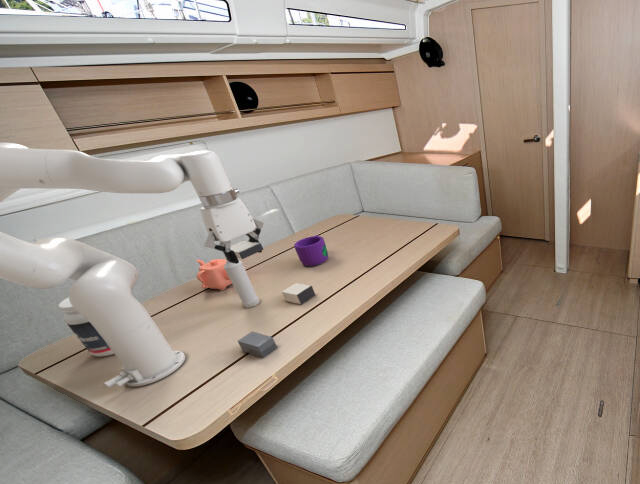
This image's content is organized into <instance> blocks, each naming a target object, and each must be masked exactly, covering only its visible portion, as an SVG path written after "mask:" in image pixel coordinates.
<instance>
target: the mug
mask: <svg viewBox="0 0 640 484" xmlns="http://www.w3.org/2000/svg"><path fill="white" fill-rule="evenodd" d="M293 246H294V250H295V253H296V254H297V255H296V256H297V257H298V259H299V261H300V262H301V264H302V265H303V266H306V267H316V266H319V265H321V264H323V263H325V262H327V260H328V258H329V253H328V252H329V251H328V249H327V246H326V242H325V240H324V237H323V236H320V235H318V234H317V235H316V234H315V235H314V236H313V235H312V236H308V237H305V238H301V239H299V240H298V241H296V242H294V245H293Z"/></svg>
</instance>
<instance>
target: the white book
mask: <svg viewBox="0 0 640 484" xmlns="http://www.w3.org/2000/svg"><path fill="white" fill-rule="evenodd" d="M231 250H233V251H234V253H235V255H236V257H237V258H238V259H241V260H244V259H246V258H248V257H251V256H253V255H255V254H258V252H259V251H261V250H262V251H264V247H263V245H262V243H261V242H259V243H255V242H249V240H242V241H239V242H237V243H234V244H231Z"/></svg>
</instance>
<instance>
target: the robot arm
mask: <svg viewBox="0 0 640 484" xmlns="http://www.w3.org/2000/svg"><path fill="white" fill-rule="evenodd" d="M187 182H190V183H191V184H192V186H193V189H194V191H195V192H196V194H197V197H198V199H199V201H200V202H201V205H202V207H200V209H199V210H200V214H201V218H202V221H203V224H204V227H205V230H206V232H207V234H208V235H207V237H206V239H205V242H204V244H203V245H204V247H206V248H210V249H213V250H216V251H220V252H222V253H223V252H224V253H223V255H224V254H225V255H224V257H225V256H226V258H227V260H228V261H229V262H231V263H235V264H237V263H239V261H240V260H239V258H237V257H236V255H235V253H234V251H233V250H231V246H232V244H231V241H233V240H236V239H238V238H241V237H243V236H246V237H248V238H249V239H248V241H249V242H255V243H260V241H259V239H260V234H261V232H262V229H263V227H264V222H262V221H260V220H258V219H256V218H253V217H252V215H251V213H250V211H249V210H248V207H246V205H245V203H244V202H243V201H242V199H241V198H239V197H238V196H237V195H238V194H240V190H239V188H233V186H232V184H231V181H230V180H229V177H228V175H227V172H226V171H225V169H224V166H223V164H222V162H221V159H220V157H219V155H218V154H217V153H216V152H215V151H212V150H198V151H192V152H188V153H185V154H183V153H182V154H164V155H163V154H162V155H156V156H154V157H152V158H150V159H148V160H128V159H127V160H126V159H124V160H123V159H111V158H110V159H109V158H100V157H96V156H92V155H89V154H87V153H85V152H83V151H80V150H74V149H56V148H55V149H53V148H52V149H49V148H29V147H27V146H26V145H22V144H18V143H13V142H0V203H1V202H3V201H4V200H6V199H7V198H9V197H10V196H12V195H13V194H15V193H16V192H18V191H19V190H21V189H54V190H56V189H58V190H59V189H60V190H61V189H62V190H67V189H69V190H70V189H71V190H86V191H92V192H101V193H112V194H166V193H170V192H173V191H175V190H176V189H178V188H179V187H180V186H181V185H182V184H184V183H187ZM215 242H220V245H219V244H216V243H215ZM258 253H259V254H261V253H263V250H261V251H259V252H257V254H258ZM226 258H225V259H226ZM238 260H239V261H238ZM139 275H140V274H139V270H138V269H137V268H136V266H135V265H133V264H132V263H131V262H129V261H127V260H126V259H124V258H121V257H118V256H116V255H113V254H111V253H109V252H106V251H104V250H102V249H100V248H97V247H94V246H92V245H89V244H87V243H84V242H82V241H79V240H75V239H72V238H67V237H59V236H57V237H55V236H54V237H46V238H41V239H39V240H36V241H34V242H29V241H26V240H23V239H21V238H17V237H15V236H12V235H10V234H8V233H5V232H2V231H0V279H2V280H5V281H9V282H11V283H15V284H17V285H21V286H23V287H27V288H31V289H36V290H37V289H38V290H46V289H52V288H55V287H58V286H59V285H62V284H63V283H64V282H66V281H67V280H68V279H71V280H74V281H75V282H74V283H73V284H72V285H71V287H70V289H69V293H68V297H69V301H70V303H71V305H72V306H73V307H74V309H75V310H77V311H78V312H79V313H80V314H81V315H82V316H84V317H85V318H86V319H87V320H88V321H89V322H90V323H91V324H92V325H93V327H94V328H95V329H96V330H97V332H98V333H99V334H100V335H101V337H102V338H103V339H104V340H105V342H106V343H107V344H108V346H109V347H110V348H111V350H112V351H113V352H114V354H113V355H115V357H116V358H117V360H118V361H119V362H120V363H121V365H122V367H121V368H120V370H121V372H119V373H118V375H115V376H114V377H112V378H110V379H109V380H107V381H105V382H104V383H103V385H104V386H105V387H106V389H108V390H109V389H112V388H113V387H115V386H117V387H118V388H120V387H121V386H123V385H125V384H126V385H127V386H129V387H143V386H147V385H151V384H152V383H155V382H158V381H160V380H163V379H164V378H166V377H168V376H169V375H171V374H172V373H174V372H175V371H177V370H178V369H179V368H180V367H181V366H182V365H183V364H184V362H185V361H186V355H185V353H184V352H183V351H181V350H173V348H172V347H171V345H170V344H169V342H168V340H167V339H166V338H165V336H164V335H163V332H162V331H161V329H159V327H158V325H157V324H156V322H155V321H154V320H153V318H152V316H151V315H150V313H149V312H148V310H147V309H146V307H144V305H143V304H142V303H141V302H140V301H138V300H137V299H136V298H135V297H134V296H133V294H132V290H133V289H134V287H135V285H136V284H137V283H138V280H139Z"/></svg>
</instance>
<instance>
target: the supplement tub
mask: <svg viewBox="0 0 640 484" xmlns="http://www.w3.org/2000/svg"><path fill="white" fill-rule="evenodd" d="M58 308H59V310H60V312H61V313H63V318H62V319H63V321H64V323H65V324H66V325H67V326H68V327H69V328H70V330H71V331H72V332H73V334H74V335H75V336H76V338H78V340H79V341H80V342H81V344H82V345H83V346H84V348H85V349H86V350H87V351H88V353H89V354H90V355H92V356H94V357H108V356H113V355H115V354H114V352H113V351H112V350H111V348H110V347H109V346H108V344H107V343H106V342H105V340H104V339H103V338H102V337H101V335H100V334H99V333H98V332H97V330H96V329H95V328H94V327H93V325H92V324H91V323H90V322H89V321H88V320H87V319H86V318H85V317H84V316H82V315H81V314H80V313H79V312H78V311H77V310H75V309H74V307H73V306H72V305H71V303H70V301H69V296H68V297H66V298H64V299H63V300H62V301H61V302H59V303H58Z"/></svg>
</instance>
